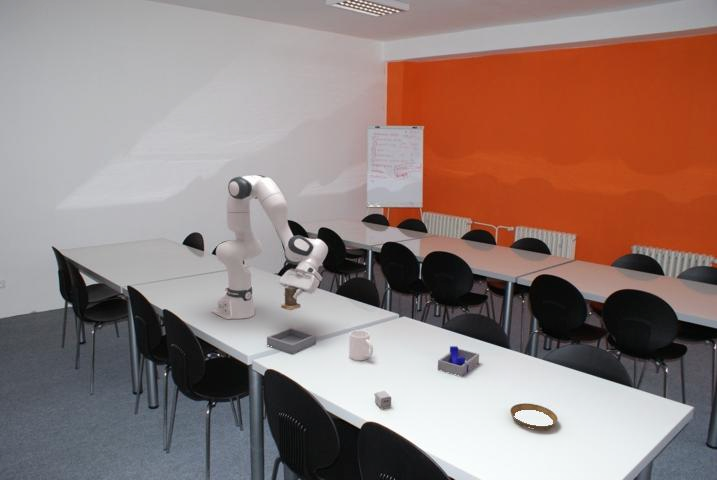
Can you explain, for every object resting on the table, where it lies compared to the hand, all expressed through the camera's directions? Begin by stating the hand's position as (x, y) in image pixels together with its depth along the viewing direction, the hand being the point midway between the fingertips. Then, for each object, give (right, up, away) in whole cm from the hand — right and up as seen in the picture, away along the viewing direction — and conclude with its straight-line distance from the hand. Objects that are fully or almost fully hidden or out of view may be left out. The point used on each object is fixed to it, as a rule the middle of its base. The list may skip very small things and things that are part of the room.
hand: (289, 297), depth 236 cm
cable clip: (+71, -26, -19) cm, 78 cm away
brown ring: (+88, -35, -60) cm, 111 cm away
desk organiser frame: (+71, -26, -19) cm, 78 cm away
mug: (+32, -24, -13) cm, 42 cm away
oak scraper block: (0, -5, +1) cm, 5 cm away
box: (+1, -21, -1) cm, 21 cm away
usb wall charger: (+38, -31, -51) cm, 71 cm away
